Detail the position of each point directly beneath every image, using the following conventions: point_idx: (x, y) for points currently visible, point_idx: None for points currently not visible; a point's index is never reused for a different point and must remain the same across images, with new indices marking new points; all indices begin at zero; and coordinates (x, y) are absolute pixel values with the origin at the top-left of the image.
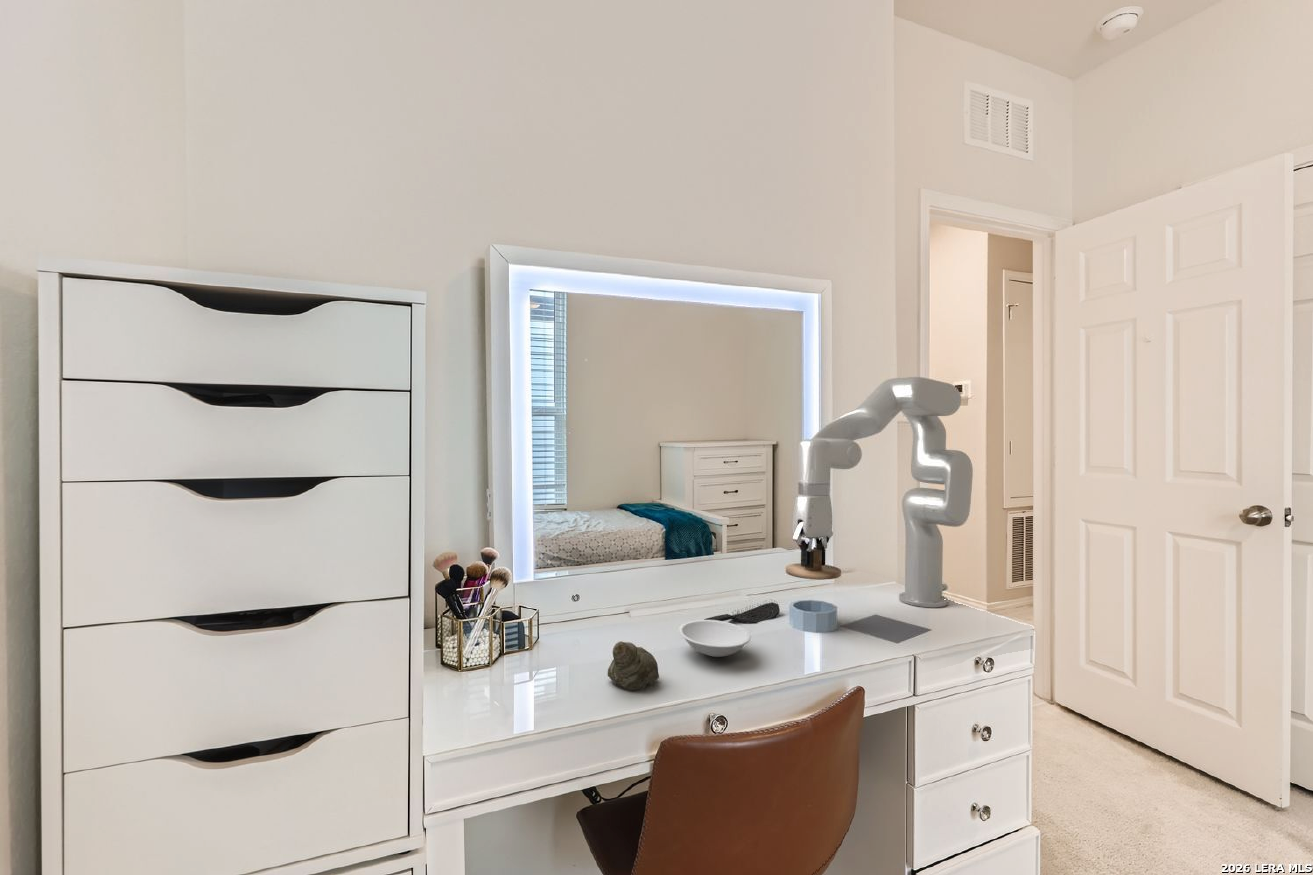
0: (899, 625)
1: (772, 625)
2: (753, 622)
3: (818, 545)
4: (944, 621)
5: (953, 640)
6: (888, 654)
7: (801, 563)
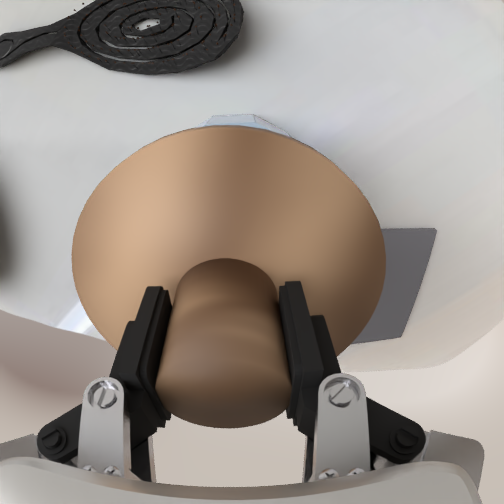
0: (391, 301)
1: (140, 108)
2: (105, 67)
3: (305, 419)
4: (462, 312)
5: (375, 365)
6: None
7: (144, 298)
